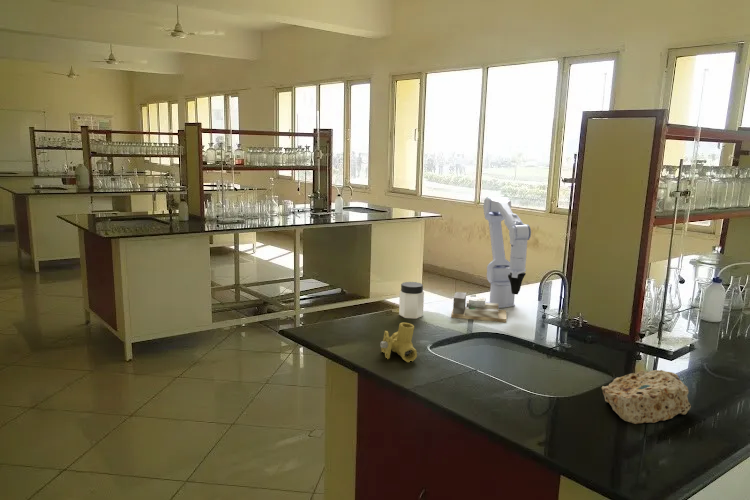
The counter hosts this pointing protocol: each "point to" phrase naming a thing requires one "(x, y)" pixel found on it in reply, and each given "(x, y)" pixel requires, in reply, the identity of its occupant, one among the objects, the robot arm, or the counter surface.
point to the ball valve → (400, 343)
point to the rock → (647, 396)
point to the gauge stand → (476, 310)
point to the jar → (411, 300)
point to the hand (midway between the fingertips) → (515, 292)
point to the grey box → (476, 302)
